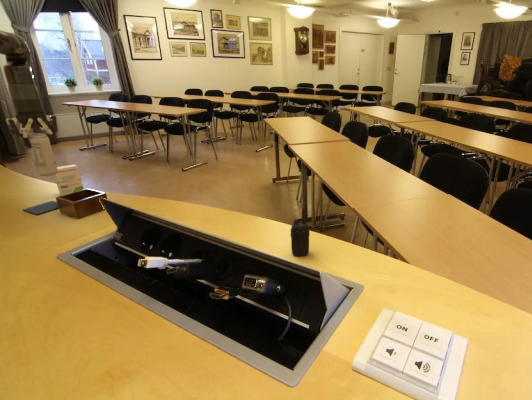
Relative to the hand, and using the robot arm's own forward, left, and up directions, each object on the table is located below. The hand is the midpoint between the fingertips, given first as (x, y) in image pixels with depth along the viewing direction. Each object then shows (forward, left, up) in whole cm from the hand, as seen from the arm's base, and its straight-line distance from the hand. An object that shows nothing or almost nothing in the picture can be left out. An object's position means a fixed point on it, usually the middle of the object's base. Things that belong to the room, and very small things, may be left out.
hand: (39, 146), depth 115 cm
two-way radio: (+14, -100, -25) cm, 104 cm away
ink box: (+13, +16, -25) cm, 33 cm away
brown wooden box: (+4, -10, -25) cm, 27 cm away
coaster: (-2, +6, -25) cm, 26 cm away
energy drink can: (0, 0, -11) cm, 11 cm away
